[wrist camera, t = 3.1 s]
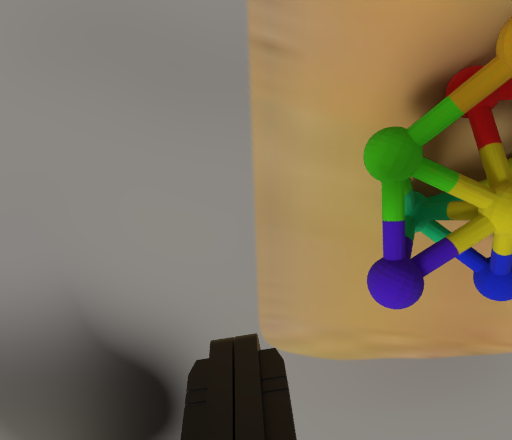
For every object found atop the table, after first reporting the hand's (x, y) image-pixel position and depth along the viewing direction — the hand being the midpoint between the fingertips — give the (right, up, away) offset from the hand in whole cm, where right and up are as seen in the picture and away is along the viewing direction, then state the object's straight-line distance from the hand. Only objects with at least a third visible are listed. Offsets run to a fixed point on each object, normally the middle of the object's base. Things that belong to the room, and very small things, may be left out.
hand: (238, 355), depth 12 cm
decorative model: (+12, +8, +11) cm, 18 cm away
